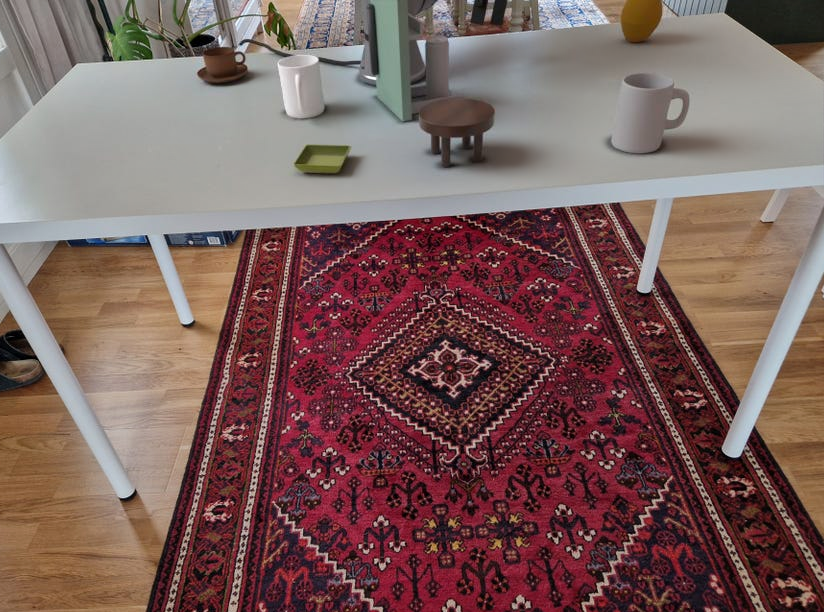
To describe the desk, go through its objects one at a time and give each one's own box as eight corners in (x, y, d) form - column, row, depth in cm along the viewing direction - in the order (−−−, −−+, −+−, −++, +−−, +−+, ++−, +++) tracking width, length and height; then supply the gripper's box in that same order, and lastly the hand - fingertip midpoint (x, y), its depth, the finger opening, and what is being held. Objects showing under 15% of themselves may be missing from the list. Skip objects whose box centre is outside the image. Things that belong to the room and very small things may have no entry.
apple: (646, 49, 155) (656, -6, 148) (609, 43, 160) (617, -10, 153) (663, 39, 161) (674, -14, 153) (627, 33, 166) (635, -18, 158)
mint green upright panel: (436, 86, 143) (434, -27, 129) (466, 109, 132) (468, -12, 117) (370, 98, 140) (361, -17, 125) (395, 123, 128) (389, 0, 114)
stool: (407, 164, 114) (405, 119, 108) (440, 137, 122) (440, 94, 117) (474, 177, 108) (475, 130, 103) (503, 148, 117) (506, 103, 111)
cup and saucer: (229, 67, 161) (223, 41, 157) (259, 75, 155) (254, 48, 151) (189, 81, 155) (182, 54, 151) (219, 90, 149) (212, 62, 144)
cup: (325, 103, 139) (318, 53, 132) (324, 124, 130) (317, 71, 123) (287, 106, 138) (278, 56, 132) (283, 127, 129) (274, 75, 123)
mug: (616, 154, 112) (627, 90, 105) (606, 135, 119) (617, 73, 111) (686, 152, 111) (703, 87, 104) (673, 133, 118) (687, 70, 111)
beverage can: (449, 95, 138) (449, 35, 130) (448, 103, 135) (448, 42, 127) (427, 96, 139) (425, 36, 131) (425, 104, 135) (424, 43, 127)
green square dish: (353, 156, 117) (352, 145, 116) (342, 177, 111) (340, 165, 110) (307, 155, 119) (305, 144, 117) (294, 176, 112) (292, 164, 111)
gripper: (511, -102, 117) (485, 27, 128) (543, -82, 137) (518, 28, 148) (473, -107, 119) (450, 20, 130) (510, -87, 139) (488, 22, 150)
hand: (486, 24), depth 139 cm, fingers open, 13 cm apart
